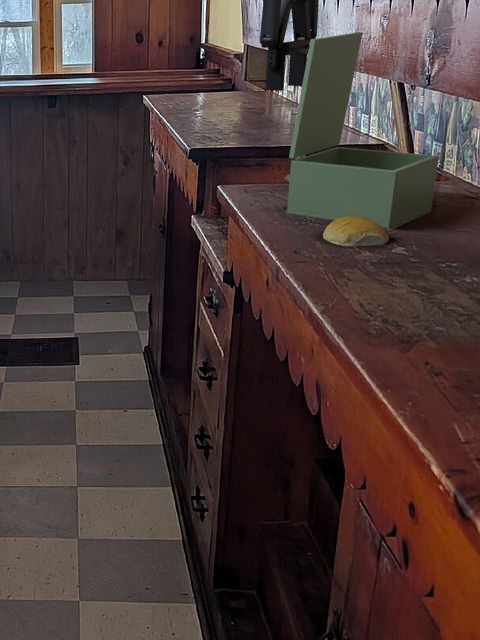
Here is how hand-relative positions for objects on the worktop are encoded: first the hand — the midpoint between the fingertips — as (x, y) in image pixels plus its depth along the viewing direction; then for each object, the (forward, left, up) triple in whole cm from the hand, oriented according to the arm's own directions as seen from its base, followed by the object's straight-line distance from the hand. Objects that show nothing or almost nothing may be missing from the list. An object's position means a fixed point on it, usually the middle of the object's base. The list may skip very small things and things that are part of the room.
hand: (285, 87), depth 142 cm
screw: (+2, -11, -19) cm, 22 cm away
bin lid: (-8, 0, -1) cm, 8 cm away
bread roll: (-23, +17, -19) cm, 34 cm away
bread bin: (-15, 0, -19) cm, 24 cm away
